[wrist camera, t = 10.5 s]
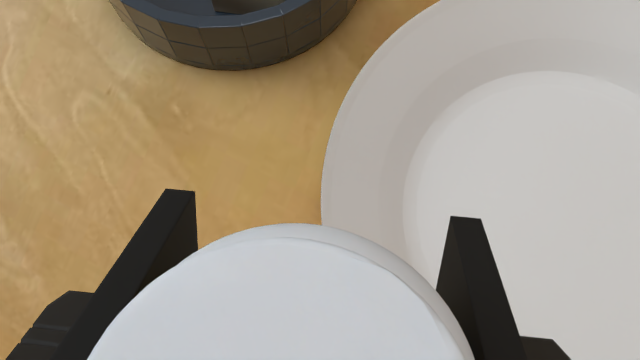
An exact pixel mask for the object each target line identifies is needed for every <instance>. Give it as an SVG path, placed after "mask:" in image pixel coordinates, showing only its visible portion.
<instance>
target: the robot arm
mask: <svg viewBox="0 0 640 360" xmlns="http://www.w3.org/2000/svg"><path fill="white" fill-rule="evenodd" d="M196 251H198V243H197V223H196V204H195V191H185V190H175V189H165V191H164V192H163V194H162V195H161V196H160V198H159V199H158V201H157V202H156V204H155V205H154V207H153V208H152V210H151V211H150V213H149V214H148V215H147V217H146V218H145V220H144V221H143V223H142V224H141V226H140V227H139V229H138V230H137V232H136V233H135V234H134V236H133V237H132V239H131V240H130V242H129V243H128V245H127V246H126V248H125V249H124V250H123V252H122V253H121V255H120V256H119V258H118V259H117V261H116V262H115V264H114V265H113V267H112V268H111V269H110V271H109V272H108V274H107V275H106V277H105V278H104V280H103V281H102V283H101V284H100V286H99V287H98V288H97V290H96V291H95V293H88V292H79V291H68V292H66V293H65V294H64V295H62V296H61V297H59V298H58V299H56V300H55V301H53V302H52V303H50V304H49V305H48V306H47V307H46V308H45V309H44V311H43V312H42V313H41V315H40V316H39V317H38V318H37V320H36V321H35V322H34V324H33V327H32V328H30V329H29V330H28V331H27V333H26V334H25V335H24V336H23V338H22V339H21V343H18V344H17V345H16V347H15V348H14V349H13V351H12V352H11V353H10V354H9V356H8V357H7V358H6V360H87V359H88V357H89V355H90V354H91V352H92V350H93V349H94V347H95V345H96V344H97V342H98V341H99V339H100V338H101V336H102V335H103V333H104V332H105V330H106V329H107V327H108V326H109V325H110V324H111V322H112V321H113V320H114V319H115V317H116V316H117V315H118V314H119V313H120V312H121V311H122V310H123V309H124V308H125V307H126V306H127V305H128V303H129V302H130V301H131V300H132V299H133V298H135V297H136V296H137V295H138V294H139V293H140V292H141V291H142V290H143V289H144V288H145V287H146V286H147V285H148V284H150V283H151V282H152V281H154V280H155V279H156V278H158V277H159V276H161V275H162V274H163V273H165V272H166V271H168V270H169V269H171V268H173V267H175V266H176V265H178V264H179V263H180V262H181V261H183V260H184V259H185V258H187V257H188V256H190V255H191V254H193V253H194V252H196ZM436 291H437V292H438V294H439V295H440V296H441V298H442V299H443V300H444V302H445V303H446V304H447V305H448V307H449V308H450V310H451V312H452V313H453V315H454V316H455V318H456V320H457V321H458V323H459V325H460V327H461V329H462V331H463V333H464V335H465V337H466V339H467V341H468V343H469V346H470V348H471V350H472V353H473V356H474V359H475V360H571V359H570V357H569V356H568V355H567V354H566V353H565V352H564V351H563V350H562V349H561V348H560V347H559V345H558V344H557V343H556V342H555V341H554V340H553V339H546V338H537V337H527V336H520V335H519V332H518V329H517V326H516V323H515V320H514V317H513V314H512V311H511V308H510V305H509V302H508V299H507V296H506V292H505V289H504V286H503V283H502V280H501V277H500V274H499V271H498V268H497V265H496V262H495V259H494V256H493V253H492V250H491V247H490V244H489V241H488V238H487V235H486V232H485V229H484V226H483V223H482V220H481V218H470V217H459V216H450V221H449V226H448V231H447V236H446V241H445V246H444V251H443V256H442V261H441V266H440V271H439V276H438V281H437V286H436Z"/></svg>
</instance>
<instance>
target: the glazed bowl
mask: <svg viewBox="0 0 640 360" xmlns="http://www.w3.org/2000/svg"><path fill="white" fill-rule="evenodd" d="M109 1H110V3H111V4H112V6H113V7H114V9H115V10H116V12H117V14H118V15H119V17H120V18H121V20H122V21H123V22H124V23H125V24H126V26H127V27H128V28H129V29H130V30H131V31H132V32H133V33H134V34H135V35H136V36H137V37H138V38H139V39H140V40H142V41H143V42H144V43H146V44H147V45H148V46H149V47H151V48H153V49H154V50H156V51H158V52H159V53H161V54H163V55H165V56H167V57H169V58H172V59H174V60H176V61H179V62H181V63H185V64H189V65H192V66H196V67H201V68H207V69H214V70H243V69H254V68H258V67H263V66H268V65H272V64H275V63H278V62H281V61H284V60H287V59H290V58H292V57H294V56H296V55H298V54H300V53H302V52H304V51H306V50H308V49H309V48H311V47H312V46H314V45H316V44H317V43H319V42H320V41H322V40H323V39H324V38H325V37H326V36H328V35H329V34H330V33H331V32H332V31H334V30H335V28H336V27H337V26H338V25H339V24H340V23H341V22H342V21H343V20H344V19H345V18H346V16H347V15H348V13H349V12H350V11H351V9H352V8H353V6H354V5H355V3H356V1H357V0H285V1H284V2H282V3H281V4H279V5H276V6H272V7H269V8H265V9H261V10H257V11H253V12H250V13H246V14H235V13H226V12H218V11H215V10H214V7H213V4H212V1H211V0H109Z"/></svg>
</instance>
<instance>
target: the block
mask: <svg viewBox="0 0 640 360" xmlns="http://www.w3.org/2000/svg"><path fill="white" fill-rule="evenodd" d="M211 1H212V4H213V7H214V10H215V11H218V12H226V13H235V14H246V13H250V12H253V11H257V10H261V9H265V8H269V7H272V6H276V5H279V4H281V3H282V2H284V1H285V0H211Z"/></svg>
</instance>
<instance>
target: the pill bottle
mask: <svg viewBox="0 0 640 360" xmlns="http://www.w3.org/2000/svg"><path fill="white" fill-rule="evenodd" d="M87 360H475V359H474V356H473V353H472V350H471V348H470V346H469V343H468V341H467V339H466V337H465V335H464V333H463V331H462V329H461V327H460V325H459V323H458V321H457V320H456V318H455V316H454V315H453V313H452V312H451V310H450V308H449V307H448V305H447V304H446V303H445V302H444V300H443V299H442V298H441V296H440V295H439V294H438V292H437V291H436V290H435V289H434V288H433V287H432V286H431V285H430V284H429V282H428V281H427V280H426V279H425V278H424V277H423V276H422V275H421V274H419V273H418V272H417V271H416V270H415V269H414V268H413V267H411V266H410V265H409V264H408V263H406V262H405V261H404V260H402V259H401V258H400V257H398V256H397V255H395V254H394V253H392V252H391V251H389V250H387V249H386V248H384V247H383V246H381V245H379V244H377V243H375V242H373V241H371V240H368V239H366V238H364V237H362V236H359V235H356V234H354V233H351V232H348V231H345V230H341V229H337V228H333V227H329V226H322V225H316V224H305V223H282V224H273V225H266V226H260V227H255V228H251V229H247V230H244V231H240V232H236V233H234V234H231V235H228V236H225V237H223V238H221V239H219V240H216V241H214V242H212V243H210V244H208V245H206V246H205V247H203V248H201V249H199V250H198V251H196V252H194V253H193V254H191V255H190V256H188V257H187V258H185V259H184V260H183V261H181V262H180V263H179V264H178V265H176V266H175V267H173V268H171V269H169V270H168V271H166V272H165V273H163V274H162V275H161V276H159V277H158V278H156V279H155V280H154V281H152V282H151V283H150V284H148V285H147V286H146V287H145V288H144V289H143V290H142V291H141V292H140V293H139V294H138V295H137V296H136V297H135V298H133V299H132V300H131V301H130V302H129V303H128V305H127V306H126V307H125V308H124V309H123V310H122V311H121V312H120V313H119V314H118V315H117V316H116V317H115V319H114V320H113V321H112V322H111V324H110V325H109V326H108V327H107V329H106V330H105V332H104V333H103V335H102V336H101V338H100V339H99V341H98V342H97V344H96V345H95V347H94V349H93V350H92V352H91V354H90V355H89V357H88V359H87Z"/></svg>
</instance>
